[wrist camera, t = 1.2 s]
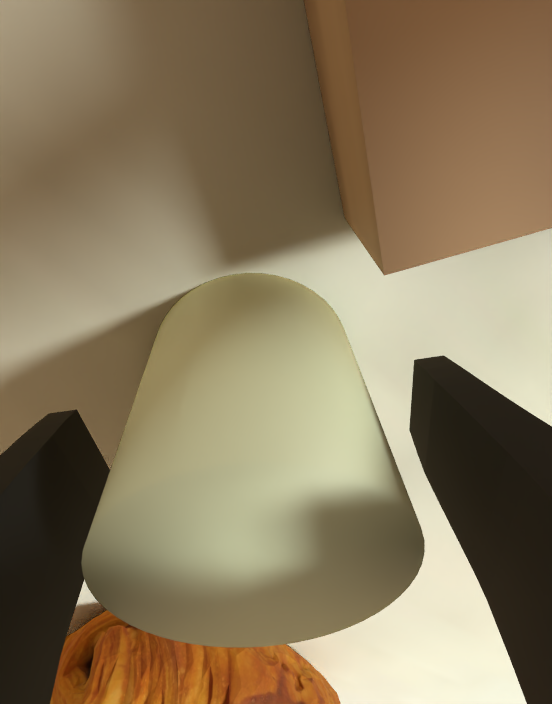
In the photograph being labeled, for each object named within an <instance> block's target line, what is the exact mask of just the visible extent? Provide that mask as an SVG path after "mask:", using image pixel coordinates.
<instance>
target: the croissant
mask: <svg viewBox="0 0 552 704" xmlns="http://www.w3.org/2000/svg"><path fill="white" fill-rule="evenodd" d="M50 704H340V701H339V698H338V695H337V693H336V692H335V690H334V689H333V688H332V687H331V686H330V684H329V683H328V682H327V680H326V679H325V678H324V677H323V676H322V675H321V673H320V672H318V671H317V670H316V669H315V668H314V667H313V666H312V665H311V664H310V663H309V662H308V661H307V660H305V659H304V658H303V657H302V656H300V655H299V654H298V653H296V652H295V651H294V650H292V649H291V648H290V647H289V646H287V645H286V644H283V645H274V646H264V647H214V646H204V645H196V644H190V643H184V642H179V641H174V640H171V639H167V638H163V637H159V636H157V635H154V634H151V633H148V632H145V631H143V630H140V629H138V628H136V627H134V626H132V625H129V624H128V623H126V622H124V621H123V620H121V619H119V618H117V617H116V616H115V615H113V614H112V613H111V612H109V611H108V610H106V611H105V612H103V613H102V614H100V615H99V616H97V617H95V618H93V619H92V620H91V621H89V622H88V623H87V624H85V625H84V626H82V627H81V628H80V629H78V630H77V631H76V632H74V633H71V634H70V635H68V636H66V639H65V643H64V646H63V650H62V653H61V657H60V661H59V666H58V670H57V675H56V679H55V683H54V688H53V692H52V697H51V701H50Z"/></svg>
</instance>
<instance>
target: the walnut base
mask: <svg viewBox="0 0 552 704" xmlns="http://www.w3.org/2000/svg"><path fill="white" fill-rule="evenodd" d="M304 4H305V10H306V15H307V20H308V26H309V31H310V36H311V42H312V47H313V52H314V58H315V63H316V68H317V73H318V79H319V84H320V89H321V95H322V100H323V105H324V111H325V116H326V121H327V127H328V132H329V137H330V143H331V148H332V153H333V159H334V164H335V169H336V175H337V180H338V185H339V191H340V196H341V201H342V207H343V212H344V217H345V219H346V221H347V222H348V224H349V225H350V227H351V228H352V229H353V231H354V232H355V234H356V235H357V237H358V238H359V240H360V241H361V242H362V244H363V245H364V247H365V248H366V250H367V251H368V253H369V254H370V255H371V257H372V258H373V260H374V261H375V263H376V264H377V266H378V267H379V268H380V270H381V271H382V273H383V274H384V275H387V274H391V273H394V272H398V271H402V270H405V269H409V268H412V267H416V266H419V265H423V264H426V263H430V262H433V261H437V260H440V259H444V258H447V257H451V256H454V255H458V254H462V253H465V252H469V251H472V250H476V249H479V248H483V247H486V246H490V245H493V244H497V243H500V242H504V241H507V240H511V239H514V238H518V237H521V236H525V235H529V234H532V233H536V232H539V231H543V230H546V229H550V228H552V0H304Z"/></svg>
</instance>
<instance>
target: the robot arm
mask: <svg viewBox="0 0 552 704" xmlns="http://www.w3.org/2000/svg"><path fill="white" fill-rule="evenodd" d="M410 433H411V436H412V439H413V442H414V445H415V447H416V450H417V453H418V456H419V459H420V461H421V464H422V467H423V470H424V472H425V474H426V477H427V479H428V481H429V483H430V485H431V487H432V489H433V491H434V493H435V495H436V497H437V499H438V501H439V503H440V505H441V507H442V509H443V511H444V513H445V515H446V517H447V519H448V521H449V523H450V525H451V527H452V529H453V531H454V533H455V535H456V537H457V539H458V541H459V543H460V545H461V547H462V549H463V551H464V553H465V555H466V557H467V559H468V561H469V563H470V565H471V567H472V569H473V571H474V573H475V575H476V577H477V579H478V581H479V584H480V586H481V588H482V590H483V592H484V595H485V597H486V599H487V601H488V604H489V606H490V609H491V611H492V614H493V617H494V619H495V622H496V624H497V627H498V629H499V632H500V634H501V637H502V639H503V642H504V644H505V647H506V649H507V652H508V655H509V657H510V660H511V662H512V665H513V668H514V670H515V673H516V676H517V678H518V681H519V684H520V686H521V689H522V692H523V694H524V697H525V700H526V702H527V704H552V426H550V425H548V424H547V423H545V422H543V421H542V420H540V419H539V418H537V417H536V416H534V415H532V414H531V413H529V412H528V411H526V410H525V409H523V408H521V407H520V406H518V405H517V404H515V403H514V402H512V401H511V400H509V399H508V398H506V397H505V396H503V395H502V394H500V393H499V392H497V391H496V390H494V389H493V388H491V387H490V386H488V385H487V384H485V383H484V382H482V381H481V380H479V379H478V378H476V377H475V376H474V375H472V374H471V373H469V372H468V371H466V370H465V369H463V368H462V367H460V366H459V365H457V364H456V363H454V362H453V361H451V360H450V359H448V358H447V357H445V356H438V357H431V358H424V359H417V360H414V372H413V387H412V401H411V416H410ZM109 473H110V469H109V467H108V466H107V464H106V462H105V460H104V458H103V457H102V455H101V453H100V451H99V449H98V447H97V446H96V444H95V442H94V440H93V438H92V437H91V435H90V433H89V431H88V429H87V428H86V426H85V424H84V422H83V420H82V418H81V417H80V415H79V413H78V411H77V410H71V411H64V412H57V413H50V414H48V415H47V416H45V417H44V418H43V419H41V420H40V421H39V422H38V423H37V424H35V425H34V426H33V427H32V428H31V429H29V430H28V431H27V432H26V433H25V434H24V435H23V436H21V437H20V438H19V439H18V440H17V441H16V442H15V443H14V444H12V445H11V446H10V447H9V448H8V449H7V450H6V451H5V452H4V453H2V454H1V455H0V704H50V701H51V697H52V692H53V688H54V683H55V679H56V675H57V670H58V666H59V661H60V657H61V653H62V650H63V646H64V643H65V639H66V635H67V632H68V628H69V625H70V622H71V619H72V616H73V613H74V610H75V607H76V604H77V601H78V597H79V594H80V591H81V588H82V585H83V582H84V577H83V571H82V564H81V562H82V553H83V548H84V545H85V542H86V540H87V537H88V534H89V531H90V528H91V525H92V522H93V519H94V516H95V513H96V510H97V507H98V505H99V502H100V499H101V496H102V493H103V490H104V487H105V484H106V481H107V478H108V475H109Z"/></svg>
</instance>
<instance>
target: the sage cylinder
mask: <svg viewBox="0 0 552 704" xmlns="http://www.w3.org/2000/svg"><path fill="white" fill-rule="evenodd" d="M423 557H424V537H423V534H422V530H421V527H420V524H419V521H418V519H417V516H416V514H415V511H414V509H413V506H412V503H411V501H410V498H409V496H408V493H407V490H406V488H405V485H404V483H403V480H402V478H401V475H400V472H399V470H398V467H397V465H396V462H395V459H394V457H393V454H392V452H391V449H390V447H389V444H388V441H387V439H386V436H385V434H384V431H383V429H382V426H381V423H380V421H379V418H378V416H377V413H376V410H375V408H374V405H373V403H372V400H371V398H370V395H369V392H368V390H367V387H366V385H365V382H364V379H363V377H362V374H361V372H360V369H359V367H358V364H357V361H356V359H355V356H354V354H353V351H352V349H351V346H350V343H349V341H348V338H347V336H346V333H345V330H344V328H343V326H342V324H341V322H340V320H339V318H338V316H337V315H336V313H335V312H334V310H333V309H332V308H331V306H330V305H329V304H328V303H327V302H326V301H325V300H324V299H323V298H321V297H320V296H319V295H318V294H316V293H315V292H314V291H312V290H311V289H309V288H307V287H305V286H304V285H302V284H300V283H297V282H295V281H293V280H290V279H287V278H283V277H280V276H276V275H269V274H262V273H243V274H233V275H229V276H224V277H220V278H217V279H214V280H211V281H209V282H206V283H204V284H202V285H200V286H198V287H196V288H194V289H193V290H191V291H190V292H189V293H187V294H186V295H184V296H183V297H182V298H181V299H180V300H179V301H178V302H177V303H176V304H174V305H173V307H172V308H171V309H170V311H169V312H168V313H167V314H166V316H165V318H164V320H163V321H162V323H161V325H160V328H159V330H158V333H157V336H156V339H155V342H154V345H153V347H152V350H151V353H150V356H149V359H148V362H147V365H146V368H145V371H144V374H143V377H142V379H141V382H140V385H139V388H138V391H137V394H136V397H135V400H134V403H133V406H132V409H131V411H130V414H129V417H128V420H127V423H126V426H125V429H124V432H123V435H122V438H121V441H120V443H119V446H118V449H117V452H116V455H115V458H114V461H113V464H112V467H111V470H110V473H109V475H108V478H107V481H106V484H105V487H104V490H103V493H102V496H101V499H100V502H99V505H98V507H97V510H96V513H95V516H94V519H93V522H92V525H91V528H90V531H89V534H88V537H87V540H86V542H85V545H84V548H83V553H82V562H81V564H82V571H83V577H84V579H85V582H86V584H87V587H88V588H89V590H90V591H91V593H92V594H93V596H94V597H95V599H96V600H97V601H98V602H99V603H100V604H101V605H102V606H103V607H104V608H105V609H107V610H108V611H109V612H111V613H112V614H113V615H115V616H116V617H117V618H119V619H121V620H123V621H124V622H126V623H128V624H129V625H132V626H134V627H136V628H138V629H140V630H143V631H145V632H148V633H151V634H154V635H157V636H159V637H163V638H167V639H171V640H174V641H179V642H184V643H190V644H196V645H204V646H214V647H264V646H274V645H283V644H289V643H295V642H300V641H305V640H309V639H314V638H318V637H321V636H324V635H328V634H331V633H334V632H337V631H340V630H343V629H345V628H348V627H350V626H352V625H355V624H357V623H359V622H361V621H364V620H365V619H367V618H369V617H371V616H373V615H375V614H376V613H378V612H379V611H381V610H382V609H384V608H385V607H387V606H388V605H390V604H391V603H392V602H393V601H394V600H396V599H397V598H398V597H399V596H400V595H401V594H402V593H403V592H404V591H405V590H406V589H407V588H408V587H409V586H410V584H411V583H412V581H413V580H414V578H415V577H416V576H417V574H418V571H419V569H420V567H421V565H422V561H423Z"/></svg>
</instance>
